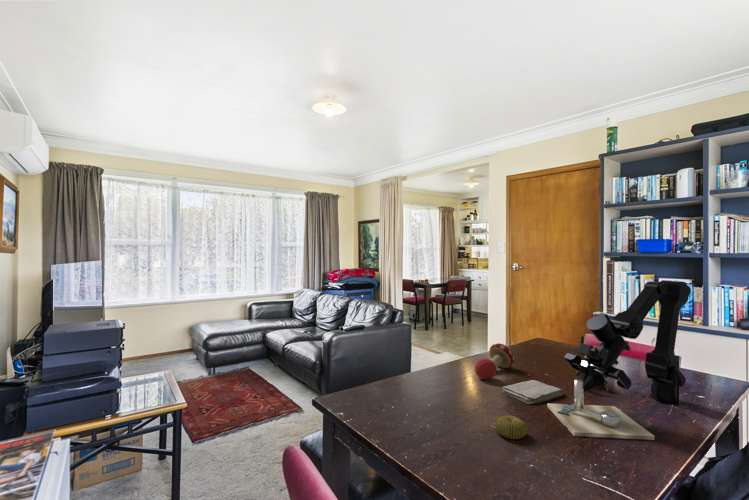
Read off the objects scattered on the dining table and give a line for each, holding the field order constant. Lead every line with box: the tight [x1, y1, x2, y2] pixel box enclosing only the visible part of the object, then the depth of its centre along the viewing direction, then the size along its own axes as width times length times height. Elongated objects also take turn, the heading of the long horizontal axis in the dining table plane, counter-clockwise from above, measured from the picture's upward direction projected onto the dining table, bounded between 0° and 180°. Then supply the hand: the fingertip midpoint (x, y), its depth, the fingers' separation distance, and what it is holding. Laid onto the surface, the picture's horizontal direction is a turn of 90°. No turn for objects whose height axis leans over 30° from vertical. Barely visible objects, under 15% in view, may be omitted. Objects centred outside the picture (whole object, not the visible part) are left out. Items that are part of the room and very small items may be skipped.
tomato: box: [474, 358, 497, 381], centre depth 137 cm, size 8×8×8 cm
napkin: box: [546, 403, 656, 441], centre depth 103 cm, size 20×18×1 cm
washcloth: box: [501, 379, 564, 405], centre depth 123 cm, size 12×18×3 cm, turn 120°
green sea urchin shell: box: [494, 414, 528, 440], centre depth 96 cm, size 8×4×8 cm
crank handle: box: [565, 378, 620, 428], centre depth 103 cm, size 14×4×10 cm, turn 41°
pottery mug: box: [574, 370, 609, 393], centre depth 130 cm, size 12×10×8 cm
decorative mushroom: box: [488, 343, 515, 369], centre depth 148 cm, size 11×11×15 cm
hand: (579, 391), depth 106 cm, fingers closed
